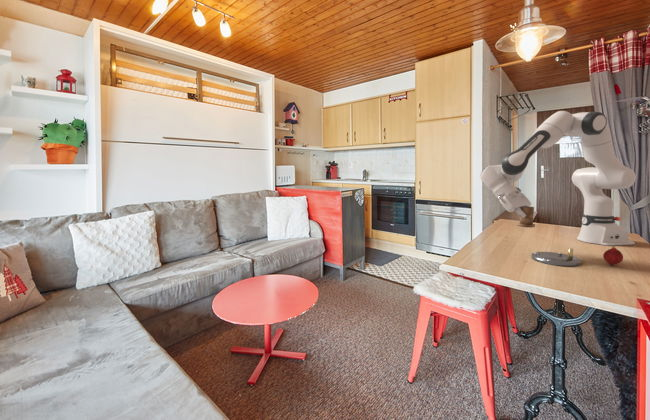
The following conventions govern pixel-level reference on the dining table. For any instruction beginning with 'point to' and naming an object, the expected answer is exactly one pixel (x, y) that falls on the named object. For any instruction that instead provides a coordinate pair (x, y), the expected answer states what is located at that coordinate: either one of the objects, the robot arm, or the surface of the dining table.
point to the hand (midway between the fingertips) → (528, 216)
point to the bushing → (527, 217)
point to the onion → (613, 256)
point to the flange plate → (556, 258)
